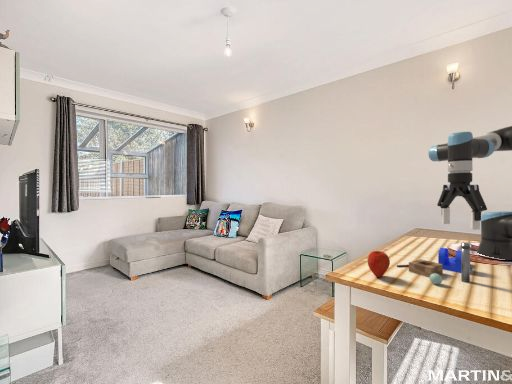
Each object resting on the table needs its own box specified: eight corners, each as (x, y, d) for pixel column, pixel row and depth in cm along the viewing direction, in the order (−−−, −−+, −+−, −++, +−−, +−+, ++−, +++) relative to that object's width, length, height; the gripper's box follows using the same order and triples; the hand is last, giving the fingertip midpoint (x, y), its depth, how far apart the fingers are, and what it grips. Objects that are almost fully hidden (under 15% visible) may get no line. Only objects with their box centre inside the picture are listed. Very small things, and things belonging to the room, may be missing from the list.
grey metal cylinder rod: (465, 279, 100) (465, 242, 100) (472, 282, 98) (472, 243, 97) (459, 280, 100) (459, 242, 100) (465, 282, 97) (465, 244, 97)
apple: (392, 281, 101) (392, 254, 100) (369, 279, 103) (368, 253, 103) (387, 273, 109) (387, 249, 108) (366, 272, 111) (366, 248, 111)
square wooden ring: (420, 267, 115) (420, 259, 115) (442, 273, 108) (442, 264, 107) (408, 271, 111) (408, 262, 111) (431, 277, 103) (431, 268, 103)
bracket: (461, 273, 108) (461, 252, 107) (438, 268, 114) (438, 249, 114) (472, 264, 119) (472, 245, 118) (450, 260, 125) (450, 242, 125)
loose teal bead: (436, 281, 99) (436, 271, 99) (445, 285, 95) (445, 275, 95) (427, 282, 99) (427, 272, 99) (434, 286, 95) (434, 275, 95)
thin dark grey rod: (425, 265, 119) (425, 263, 119) (427, 265, 118) (427, 264, 118) (396, 266, 118) (396, 265, 118) (397, 267, 117) (397, 265, 117)
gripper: (427, 174, 111) (427, 222, 112) (479, 170, 86) (479, 232, 87) (444, 173, 112) (444, 221, 112) (501, 170, 87) (500, 232, 87)
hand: (459, 226), depth 100 cm, fingers open, 13 cm apart
